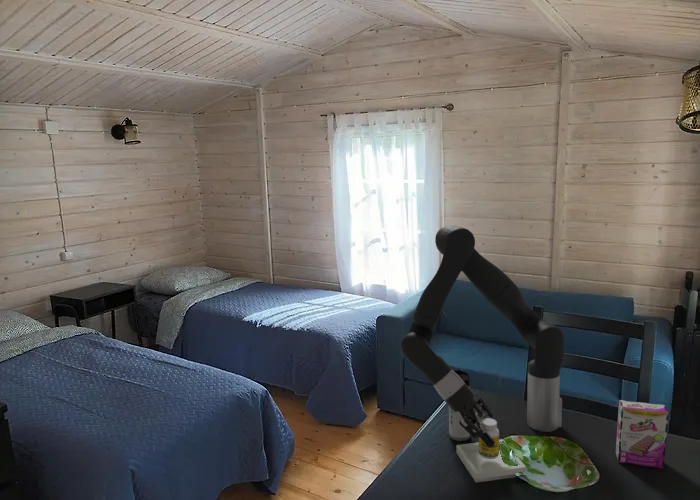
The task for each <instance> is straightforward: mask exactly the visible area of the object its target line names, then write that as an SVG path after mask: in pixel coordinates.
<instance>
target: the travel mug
mask: <svg viewBox="0 0 700 500" xmlns="http://www.w3.org/2000/svg"><path fill="white" fill-rule="evenodd" d="M453 371H454V372H455V373H456V374H457V375H458V376H459V377H460V378H461V379H462V380H463V381H464V383H465V384H466V385H467V386H468V387H469V388H470V389H471V385H470V381H471V380H470V379H471V378H470V375H469V373H467V371H466V372H465V371H462V370H461V369H454V370H453ZM461 420H462V416H461V414H460V412H458V411H457V412H454V411H453V410H452V409H451V408H450V406H449V405H448V436H449V437H450V438H451V440H454V441H457V442H464V441H467V440H469V439H470V438H471V435H470V434H469V433H468V432H467V431H466V430H465V429H464V428H463V427H462V426H461V425H460V424H459V422H460V421H461Z"/></svg>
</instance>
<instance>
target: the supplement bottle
mask: <svg viewBox="0 0 700 500" xmlns="http://www.w3.org/2000/svg"><path fill="white" fill-rule="evenodd" d="M482 426H483V428H484V430H485V432H487V433H488V435H489V436H490V437H491V438H492V439H493V440H494V442H495V445H494V446H492V447H491V448H489V447H488V446H487V445H486V444H485V443H484V442H483V440H482V439H481V438H480V437H478V442H479V454H480V456H482V457H483V458H486V459H495V458H497V457H498V455H499V440H500V435H499V430H500V429H499V428H498V421H497V420H496V419H493V418H492V419H491V418H485V419H483V420H482ZM497 428H498V429H499V430H498V429H497ZM478 429H479V430H480V428H478Z"/></svg>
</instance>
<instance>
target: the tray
mask: <svg viewBox="0 0 700 500" xmlns="http://www.w3.org/2000/svg"><path fill="white" fill-rule="evenodd" d="M503 440H504V439H502V438H499V445H500V443H501V442H502V441H503ZM456 455H457V456H458V458H459V459H460V461H461V463H462V464H463V465H464V467H465V469H466V470H467V471H468V473H469V475H470V476H471V477H472V479H473V481H474V483H476V484H477V483H482V482H483V483H484V482H489V481H491V482H492V481H496V480H504V479H512V478H517V477H516V475H515V473H519V472H523V471H526V472H527V466H526V465H525V464H524V463H523V461H522V460H521V459H520V458H519V457H518V456H517V455H516V456H517V457H516V456H515V460H516V462H517V463H518V465H519V466H512V467H507V466H506V464H505V463H504V462H503V460H502V457H501V454H500V450H499V455H498V457H497V458H495V459H486V458H483V457H482V456H480V454H479V441H478V442H472V443H462V444H457V445H456Z"/></svg>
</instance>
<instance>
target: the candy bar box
mask: <svg viewBox="0 0 700 500" xmlns="http://www.w3.org/2000/svg"><path fill="white" fill-rule="evenodd" d="M668 421H669V412H668V410H667V408H666V405H665V404H659V403H649V402H638V401H631V400H622V399H619V400H618V412H617V429H616V444H615V455H616V458H617V462H618V463H621V464H627V465H633V466H642V467H647V468H656V469H663V470H664V467H665V457H666V445H667V433H668Z"/></svg>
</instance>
